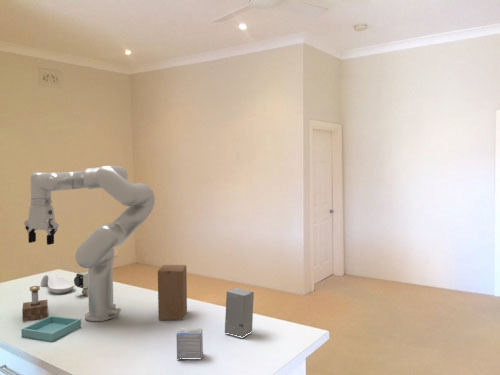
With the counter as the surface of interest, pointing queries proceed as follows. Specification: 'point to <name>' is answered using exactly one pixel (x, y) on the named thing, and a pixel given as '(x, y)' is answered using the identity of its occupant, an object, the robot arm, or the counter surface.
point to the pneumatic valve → (82, 282)
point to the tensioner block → (35, 311)
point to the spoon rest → (57, 283)
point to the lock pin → (35, 295)
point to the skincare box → (239, 312)
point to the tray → (51, 328)
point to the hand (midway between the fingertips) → (41, 243)
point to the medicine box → (189, 343)
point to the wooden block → (172, 292)
